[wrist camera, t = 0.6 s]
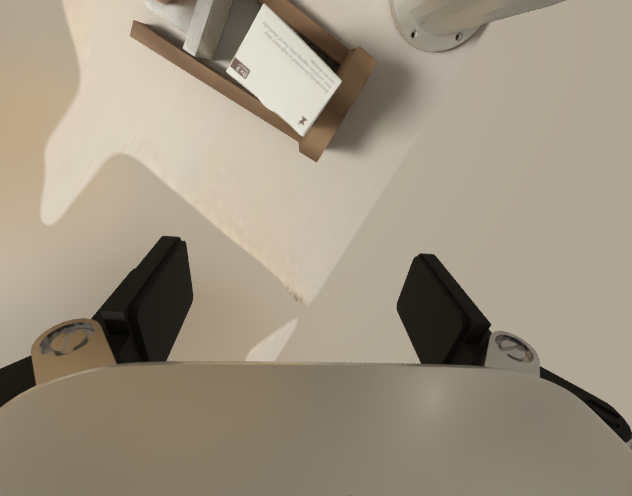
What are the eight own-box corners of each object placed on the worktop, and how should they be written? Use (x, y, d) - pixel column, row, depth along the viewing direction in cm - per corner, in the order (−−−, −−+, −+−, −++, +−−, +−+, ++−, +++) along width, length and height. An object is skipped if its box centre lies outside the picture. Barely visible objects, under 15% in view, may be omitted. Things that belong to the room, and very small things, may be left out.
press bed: (171, -89, 27) (130, -144, 20) (361, 64, 35) (377, 61, 28) (140, 38, 32) (98, 28, 25) (312, 147, 40) (316, 162, 33)
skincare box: (330, 79, 35) (350, 81, 23) (301, 119, 38) (305, 141, 25) (276, 26, 32) (265, -5, 20) (249, 74, 34) (223, 72, 22)
